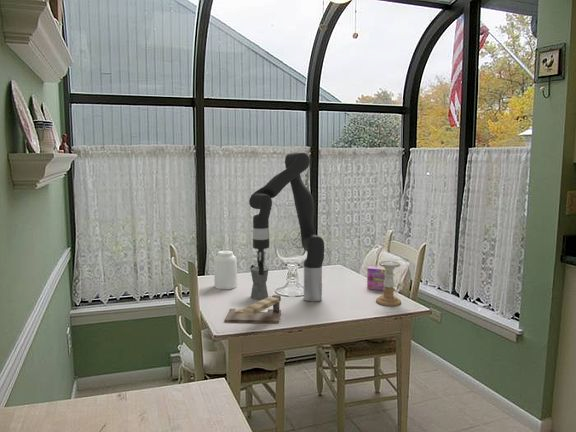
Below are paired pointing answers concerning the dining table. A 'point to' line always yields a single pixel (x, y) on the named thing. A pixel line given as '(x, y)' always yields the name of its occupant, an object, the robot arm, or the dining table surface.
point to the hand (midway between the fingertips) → (261, 274)
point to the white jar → (225, 270)
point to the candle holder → (388, 285)
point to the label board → (255, 315)
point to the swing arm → (262, 305)
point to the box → (375, 277)
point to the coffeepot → (259, 283)
